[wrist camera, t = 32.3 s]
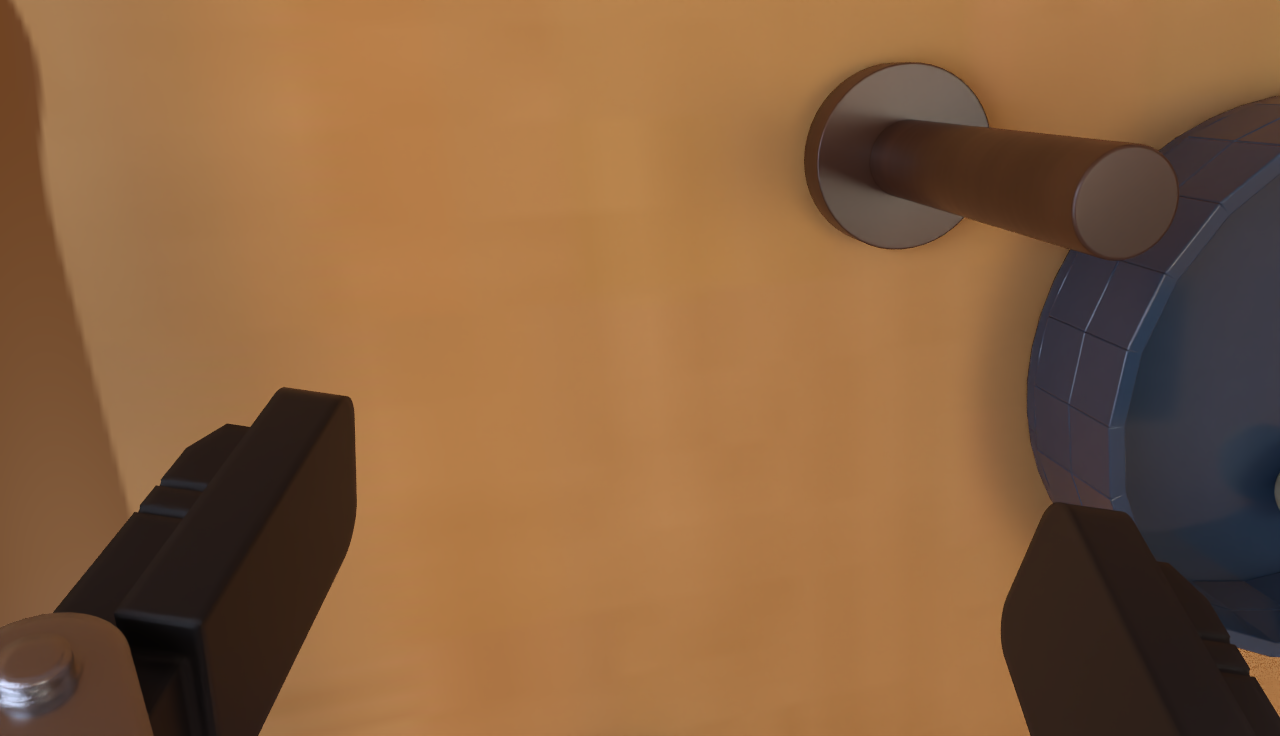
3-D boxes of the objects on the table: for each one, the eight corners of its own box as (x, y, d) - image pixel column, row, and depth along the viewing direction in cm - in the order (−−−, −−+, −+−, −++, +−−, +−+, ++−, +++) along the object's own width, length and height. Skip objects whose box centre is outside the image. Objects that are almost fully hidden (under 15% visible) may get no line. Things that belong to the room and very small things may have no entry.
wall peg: (776, 111, 32) (958, 136, 20) (939, 31, 32) (1220, 6, 20) (840, 271, 34) (1041, 384, 22) (993, 196, 34) (1281, 265, 22)
